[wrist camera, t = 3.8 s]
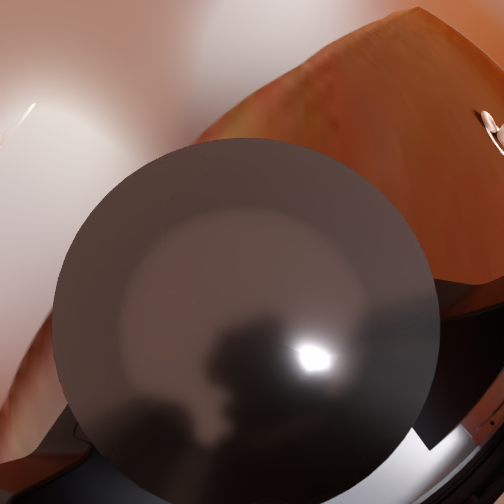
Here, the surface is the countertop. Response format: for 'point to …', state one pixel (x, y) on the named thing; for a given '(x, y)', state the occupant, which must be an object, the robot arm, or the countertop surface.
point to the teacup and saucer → (493, 129)
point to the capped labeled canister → (245, 325)
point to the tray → (410, 470)
